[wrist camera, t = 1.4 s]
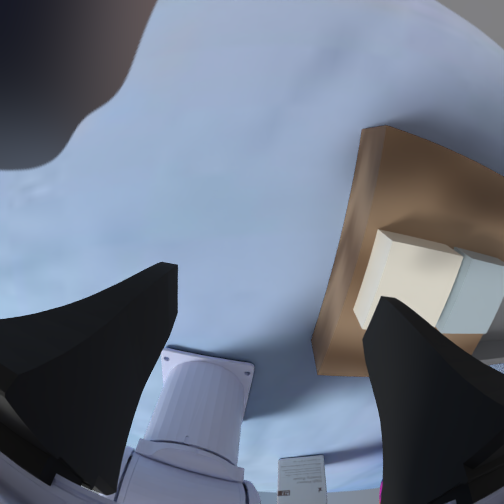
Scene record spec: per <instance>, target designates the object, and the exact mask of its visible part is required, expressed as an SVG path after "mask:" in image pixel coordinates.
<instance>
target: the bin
mask: <svg viewBox="0 0 504 504" xmlns="http://www.w3.org/2000/svg"><path fill="white" fill-rule="evenodd" d="M472 356H473V357H475V358H476V359H478V360H479V361H481V362H483V363H484V364H486V365H493V364H499V363H504V297H503V299H502V302H501V304H500V306H499V308H498V311H497V313H496V315H495V317H494V319H493V321H492V323H491V325H490V327H489V329H488V331H487V333H486V334H483V335H482V337H481V339H480V341H479V343H478V345H477V346H476V348H475V350H474V352H473V353H472Z"/></svg>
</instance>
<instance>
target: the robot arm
mask: <svg viewBox="0 0 504 504" xmlns="http://www.w3.org/2000/svg"><path fill="white" fill-rule="evenodd" d="M177 313H178V265H176V264H171V263H165V262H160V263H157V264H155V265H153V266H151V267H149V268H147V269H145V270H143V271H141V272H139V273H137V274H135V275H133V276H131V277H129V278H128V279H126V280H124V281H122V282H120V283H118V284H116V285H113V286H111V287H109V288H107V289H105V290H103V291H101V292H98V293H96V294H94V295H92V296H89V297H87V298H84V299H82V300H79V301H76V302H73V303H71V304H68V305H65V306H62V307H58V308H54V309H50V310H47V311H43V312H39V313H35V314H31V315H25V316H20V317H14V318H7V319H0V504H261V501H260V496H259V493H258V492H257V490H256V489H255V487H254V485H253V484H252V483H251V482H250V481H247V480H243V479H244V468H241V467H237V462H238V452H239V442H240V432H241V425H242V421H243V417H244V413H245V409H246V404H247V400H248V396H249V391H250V387H251V382H252V378H253V374H254V365H253V364H252V363H247V362H240V361H234V360H227V359H221V358H215V357H210V356H204V355H199V354H194V353H189V352H184V351H179V350H174V349H170V348H164V346H165V344H166V342H167V340H168V338H169V336H170V333H171V331H172V328H173V325H174V322H175V319H176V316H177ZM362 341H363V350H364V357H365V363H366V367H367V370H368V374H369V378H370V381H371V385H372V388H373V392H374V396H375V400H376V403H377V407H378V411H379V417H380V422H381V432H382V443H383V483H382V494H381V502H380V504H504V374H503V373H501V372H499V371H497V370H495V369H493V368H491V367H490V366H488V365H486V364H484V363H483V362H481V361H479V360H478V359H476V358H475V357H473V356H472V355H470V354H469V353H467V352H466V351H464V350H463V349H461V348H460V347H459V346H457V345H456V344H455V343H453V342H452V341H451V340H449V339H448V338H447V337H445V336H444V335H443V334H442V333H440V332H439V331H438V330H437V329H436V328H434V327H433V326H432V325H431V324H429V323H428V322H427V321H426V320H425V319H423V318H422V317H421V316H420V315H418V314H417V313H416V312H415V311H414V310H412V309H411V308H410V307H408V306H407V305H406V304H404V303H403V302H401V301H400V300H398V299H397V298H394V297H386V296H381V297H380V300H379V302H378V305H377V307H376V309H375V312H374V314H373V316H372V319H371V321H370V323H369V325H368V328H367V330H366V332H365V334H364V336H363V338H362ZM160 354H161V360H162V374H163V385H164V386H163V388H162V391H161V394H160V396H159V399H158V401H157V404H156V406H155V409H154V412H153V414H152V417H151V419H150V422H149V425H148V427H147V430H146V433H145V435H144V438H143V439H142V438H141V439H140V440H139V442H138V445H137V448H136V450H135V449H134V448H132V447H129V446H126V442H127V438H128V435H129V431H130V428H131V424H132V421H133V418H134V415H135V411H136V408H137V405H138V402H139V400H140V397H141V394H142V391H143V389H144V387H145V384H146V382H147V380H148V378H149V376H150V374H151V372H152V370H153V368H154V366H155V364H156V362H157V360H158V358H159V356H160ZM166 357H168V358H166ZM247 372H249V373H247ZM125 446H126V447H125ZM134 452H135V453H134ZM81 485H82V486H84V487H86V488H88V489H90V490H94V491H97V492H99V495H98V494H96V493H94V492H92V491H89V490H87V489H85V488H83V487H81Z"/></svg>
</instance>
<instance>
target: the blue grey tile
mask: <svg viewBox="0 0 504 504" xmlns="http://www.w3.org/2000/svg"><path fill="white" fill-rule="evenodd" d="M453 250H455V251H456V252H458V253H459V254H461V255H462V256H463V260H462V262H461V265H460V268H459V271H458V274H457V276H456V279H455V282H454V284H453V287H452V289H451V292H450V294H449V297H448V299H447V301H446V304H445V306H444V308H443V310H442V313H441V315H440V317H439V319H438V321H437V323H436V328H437V329H438V330H439V332H440V333H449V334H486V333H487V331H488V329H489V327H490V325H491V323H492V321H493V319H494V317H495V315H496V313H497V311H498V308H499V306H500V304H501V302H502V299H503V297H504V262H503V261H501V260H500V259H498V258H495V257H492V256H488V255H484V254H481V253H477V252H473V251H469V250H465V249H462V248H458V247H454V249H453Z"/></svg>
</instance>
